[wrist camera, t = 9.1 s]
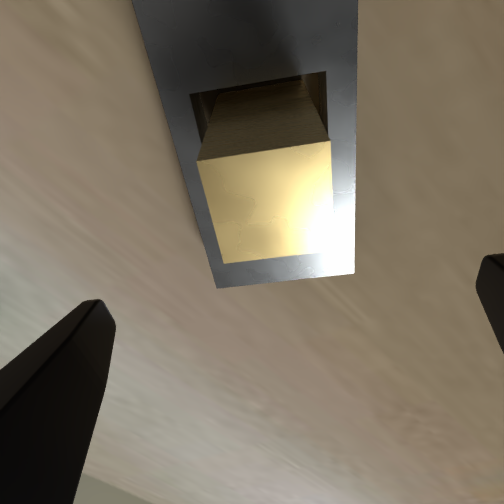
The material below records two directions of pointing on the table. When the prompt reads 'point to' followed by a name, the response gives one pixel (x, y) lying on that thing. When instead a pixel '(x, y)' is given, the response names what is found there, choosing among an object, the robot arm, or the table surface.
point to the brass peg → (268, 174)
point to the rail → (251, 71)
